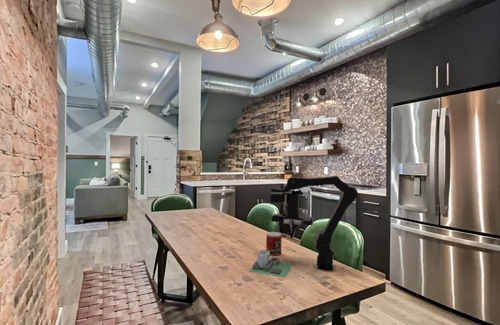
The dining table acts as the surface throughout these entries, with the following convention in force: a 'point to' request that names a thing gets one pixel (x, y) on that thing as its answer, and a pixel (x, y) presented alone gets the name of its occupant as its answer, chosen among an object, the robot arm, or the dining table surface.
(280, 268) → the board
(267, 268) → the grey square frame
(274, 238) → the canned food
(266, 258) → the plug
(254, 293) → the dining table surface
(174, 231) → the dining table surface
